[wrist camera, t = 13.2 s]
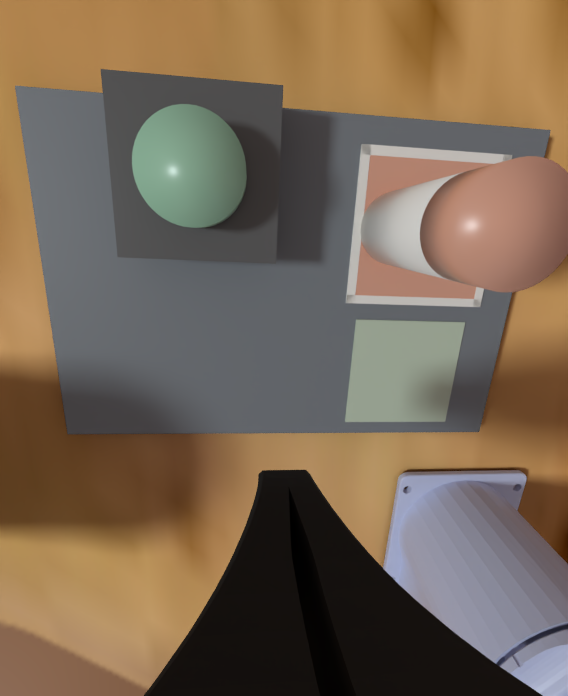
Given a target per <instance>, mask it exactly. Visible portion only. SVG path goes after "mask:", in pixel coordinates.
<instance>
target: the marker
mask: <svg viewBox="0 0 568 696" xmlns="http://www.w3.org/2000/svg"><path fill="white" fill-rule="evenodd" d="M360 234H361V241H362V244H363V246H364V248H365V250H366V252H367V253H368V254H369V255H370V256H371V257H372V258H373V259H374V260H376V261H378V262H380V263H383V264H386V265H390V266H394V267H398V268H402V269H407V270H411V271H415V272H419V273H423V274H427V275H431V276H435V277H439V278H443V279H447V280H451V281H455V282H459V283H463V284H467V285H471V286H475V287H479V288H483V289H487V290H491V291H495V292H516V291H520V290H524V289H527V288H529V287H532V286H534V285H536V284H537V283H539V282H541V281H542V280H544V279H545V278H546V277H548V276H549V275H550V274H551V273H552V272H553V271H554V270H555V269H556V268H557V267H558V266H559V265H560V264H561V262H562V261H563V260H564V258H565V257H566V255H567V254H568V173H567V171H566V170H565V169H564V168H562V167H561V166H560V165H559V164H557V163H555V162H554V161H552V160H549V159H546V158H543V157H538V156H525V157H518V158H515V159H511V160H507V161H503V162H500V163H496V164H492V165H488V166H485V167H481V168H477V169H473V170H470V171H466V172H462V173H458V174H455V175H451V176H447V177H443V178H440V179H436V180H432V181H428V182H425V183H421V184H417V185H414V186H410V187H406V188H402V189H399V190H395V191H391V192H388V193H385V194H383V195H381V196H379V197H378V198H376V199H375V200H374V201H373V202H372V203H371V204H370V205H369V207H368V208H367V210H366V211H365V213H364V216H363V218H362V222H361V229H360Z"/></svg>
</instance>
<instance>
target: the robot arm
mask: <svg viewBox="0 0 568 696" xmlns="http://www.w3.org/2000/svg"><path fill="white" fill-rule="evenodd" d="M526 480H527V477H526V475H525V474H524V473H523V472H521V471H520V470H493V471H434V472H404V473H403V474H401V475H400V476H399V478H398V483H397V489H396V495H395V501H394V507H393V513H392V519H391V525H390V531H389V536H388V542H387V548H386V554H385V560H384V566H383V568H382V567H381V566H380V565H379V564H378V563H377V562H376V560H375V559H374V558H373V557H372V556H371V555H370V554H369V553H368V552H367V550H366V549H365V548H364V547H363V546H362V545H361V544H360V542H359V541H358V540H357V539H356V538H355V537H354V535H353V534H352V533H351V532H350V530H349V529H348V528H347V527H346V525H345V524H344V523H343V521H342V520H341V519H340V518H339V516H338V515H337V514H336V512H335V511H334V510H333V508H332V507H331V506H330V504H329V503H328V501H327V500H326V498H325V497H324V496H323V494H322V493H321V491H320V490H319V488H318V487H317V485H316V483H315V482H314V480H313V479H312V477H311V475H310V474H309V473H308V472H307V471H306V470H267V471H262V472H261V473H259V479H258V488H257V492H256V496H255V500H254V503H253V506H252V509H251V512H250V515H249V518H248V521H247V524H246V526H245V529H244V531H243V533H242V536H241V538H240V540H239V543H238V545H237V547H236V549H235V552H234V554H233V556H232V558H231V560H230V562H229V564H228V566H227V568H226V570H225V572H224V574H223V576H222V578H221V580H220V581H219V583H218V585H217V587H216V589H215V591H214V592H213V594H212V596H211V597H210V599H209V601H208V602H207V604H206V606H205V607H204V609H203V611H202V613H201V614H200V616H199V617H198V619H197V621H196V622H195V624H194V625H193V627H192V628H191V630H190V632H189V633H188V635H187V636H186V638H185V639H184V640H183V642H182V643H181V645H180V646H179V648H178V649H177V650H176V652H175V653H174V655H173V656H172V658H171V659H170V660H169V662H168V663H167V665H166V666H165V668H164V669H163V670H162V672H161V673H160V675H159V676H158V678H157V679H156V680H155V682H154V683H153V684H152V686H151V687H150V688H149V690H148V691H147V692H146V693H145V695H144V696H568V564H567V563H566V562H565V561H564V560H563V558H562V557H561V556H560V555H559V554H558V553H557V552H556V551H555V550H554V549H553V548H552V547H551V546H550V545H549V544H548V543H547V542H546V541H545V540H544V539H543V537H542V536H541V535H540V534H539V533H538V532H537V531H536V530H535V529H534V528H533V527H532V526H531V525H530V524H529V523H528V522H527V521H526V520H525V519H524V518H523V516H522V515H521V514H520V513H519V512H518V507H519V504H520V500H521V497H522V494H523V490H524V487H525V483H526ZM407 486H408V488H406V489H404V488H405V487H407Z"/></svg>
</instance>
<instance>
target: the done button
mask: <svg viewBox="0 0 568 696" xmlns="http://www.w3.org/2000/svg"><path fill="white" fill-rule="evenodd" d="M132 169H133V175H134V179H135V182H136V185H137V187H138V190H139V191H140V193H141V195H142V197H143V198H144V200H145V201H146V203H147V204H148V205H149V206H150V207H151V209H152V210H154V211H155V212H156V213H157V214H158V215H159V216H161V217H162V218H164V219H165V220H167V221H169V222H171V223H174V224H176V225H179V226H183V227H191V228H205V227H211V226H214V225H217V224H219V223H221V222H223V221H224V220H226V219H227V218H229V217H230V216H231V215H232V214H233V213H234V212H235V211H236V209H237V208H238V206H239V205H240V203H241V201H242V199H243V196H244V193H245V188H246V180H247V175H246V162H245V156H244V152H243V149H242V146H241V144H240V142H239V140H238V138H237V136H236V134H235V133H234V131H233V130H232V129H231V127H230V126H229V125H228V124H227V123H226V122H225V121H224V120H223V119H222V118H220V117H219V116H218V115H217V114H215V113H213V112H212V111H210V110H208V109H206V108H203V107H200V106H197V105H191V104H177V105H171V106H168V107H165V108H163V109H161V110H159V111H157V112H156V113H154V114H153V115H152V116H151V117H150V118H149V119H147V120H146V122H145V123H144V124H143V126H142V127H141V129H140V130H139V132H138V134H137V137H136V139H135V142H134V146H133V152H132Z"/></svg>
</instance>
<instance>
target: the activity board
mask: <svg viewBox="0 0 568 696" xmlns="http://www.w3.org/2000/svg"><path fill="white" fill-rule="evenodd" d="M15 89H16V96H17V102H18V109H19V116H20V122H21V129H22V135H23V142H24V149H25V155H26V162H27V169H28V175H29V182H30V188H31V195H32V202H33V208H34V215H35V222H36V228H37V235H38V241H39V248H40V255H41V261H42V268H43V275H44V281H45V288H46V294H47V301H48V308H49V314H50V321H51V328H52V334H53V341H54V347H55V354H56V361H57V367H58V374H59V381H60V387H61V394H62V400H63V407H64V414H65V420H66V427H67V434H192V433H367V432H479V430H480V426H481V422H482V418H483V413H484V409H485V405H486V401H487V397H488V392H489V388H490V384H491V380H492V375H493V371H494V367H495V363H496V359H497V354H498V350H499V346H500V342H501V337H502V333H503V329H504V325H505V321H506V316H507V312H508V308H509V304H510V300H511V295H512V292H495V291H491V290H487V289H483V288H479V287H475V286H471V285H467V284H463V283H459V282H455V281H451V280H447V279H443V278H439V277H435V276H431V275H427V274H423V273H419V272H415V271H411V270H407V269H402V268H398V267H394V266H390V265H386V264H383V263H380V262H378V261H376V260H374V259H373V258H372V257H371V256H370V255H369V254H368V253H367V252H366V250H365V248H364V246H363V244H362V241H361V234H360V229H361V222H362V218H363V216H364V213H365V211H366V210H367V208H368V207H369V205H370V204H371V203H372V202H373V201H374V200H375V199H376V198H378V197H379V196H381V195H383V194H385V193H388V192H391V191H395V190H399V189H402V188H406V187H410V186H414V185H417V184H421V183H425V182H428V181H432V180H436V179H440V178H443V177H447V176H451V175H455V174H458V173H462V172H466V171H470V170H473V169H477V168H481V167H485V166H488V165H492V164H496V163H500V162H503V161H507V160H511V159H515V158H518V157H525V156H538V157H543V158H544V156H545V152H546V148H547V143H548V139H549V135H550V131H551V130H542V129H530V128H518V127H506V126H493V125H481V124H469V123H457V122H445V121H433V120H421V119H409V118H397V117H385V116H373V115H361V114H349V113H337V112H325V111H313V110H301V109H289V108H282V127H281V153H280V178H279V203H278V229H277V254H276V264H270V263H245V262H220V261H196V260H171V259H146V258H122V257H117V246H116V234H115V223H114V212H113V201H112V189H111V178H110V167H109V156H108V144H107V133H106V122H105V111H104V99H103V93H96V92H84V91H72V90H60V89H48V88H36V87H24V86H15Z"/></svg>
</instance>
